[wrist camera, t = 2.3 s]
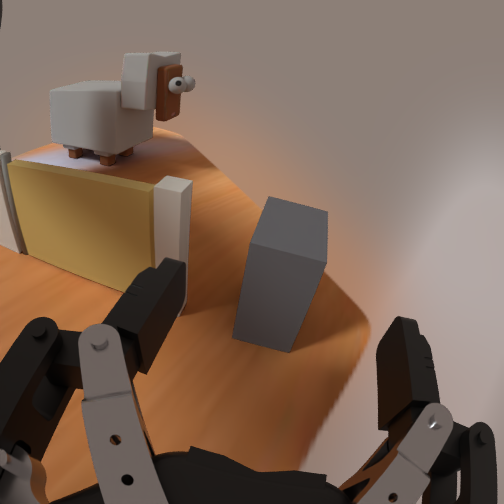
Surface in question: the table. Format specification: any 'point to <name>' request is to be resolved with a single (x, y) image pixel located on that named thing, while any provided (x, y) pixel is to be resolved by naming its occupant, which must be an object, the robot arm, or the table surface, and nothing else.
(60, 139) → the toy
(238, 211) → the table surface
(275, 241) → the rubber block
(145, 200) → the door
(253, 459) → the table surface
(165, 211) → the wall frame
